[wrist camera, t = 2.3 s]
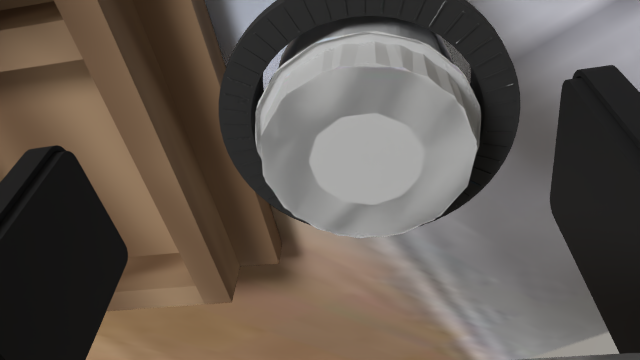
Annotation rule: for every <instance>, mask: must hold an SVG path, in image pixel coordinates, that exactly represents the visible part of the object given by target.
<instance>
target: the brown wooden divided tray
mask: <svg viewBox="0 0 640 360" xmlns="http://www.w3.org/2000/svg"><path fill="white" fill-rule="evenodd" d="M225 70H226V67H225V63H224V60H223V57H222V54H221V51H220V48H219V45H218V41H217V38H216V35H215V32H214V29H213V26H212V23H211V19H210V16H209V13H208V10H207V7H206V4H205V1H204V0H0V182H1V181H2V180H3V178H4V177H5V176H6V175H7V174H8V172H9V171H10V170H11V169H12V168H13V166H14V165H15V164H16V163H17V161H18V160H19V159H20V158H21V157H22V155H23V154H24V153H25V152H26V151H27V150H29V149H34V148H41V147H48V146H55V145H58V146H61V147H63V148H64V149H65V150H66V151H70V152H72V153H73V154H74V155H75V156H76V158H77V160H78V161H79V163H80V165H81V167H82V169H83V170H84V172H85V174H86V176H87V177H88V179H89V181H90V183H91V184H92V186H93V188H94V190H95V192H96V193H97V195H98V197H99V199H100V200H101V202H102V204H103V206H104V207H105V209H106V211H107V213H108V215H109V216H110V218H111V220H112V222H113V223H114V225H115V227H116V229H117V230H118V232H119V234H120V236H121V238H122V239H123V241H124V243H125V245H126V247H127V251H128V261H127V264H126V267H125V269H124V271H123V274H122V276H121V278H120V280H119V283H118V285H117V287H116V290H115V292H114V294H113V297H112V299H111V301H110V304H109V306H108V308H107V311H117V310H131V309H145V308H160V307H174V306H188V305H203V304H217V303H231V302H232V300H233V295H234V291H235V287H236V282H237V278H238V274H239V270H240V267H241V266H253V265H266V264H278V263H279V260H280V254H281V248H282V242H281V239H280V236H279V233H278V230H277V226H276V223H275V220H274V217H273V214H272V211H271V208H270V204H269V203H268V202H266V201H265V200H264V199H263V198H262V197H260V196H259V195H258V194H257V193H256V192H255V191H254V190H253V189H252V188H251V187H250V186H249V185H248V184H247V182H246V181H245V180H244V179H243V178H242V176H241V175H240V173H239V172H238V170H237V169H236V167H235V166H234V164H233V162H232V160H231V158H230V156H229V155H228V152H227V150H226V147H225V144H224V142H223V138H222V134H221V130H220V123H219V104H218V102H219V94H220V87H221V83H222V79H223V75H224V72H225Z"/></svg>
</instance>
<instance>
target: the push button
mask: <svg viewBox="0 0 640 360" xmlns="http://www.w3.org/2000/svg"><path fill="white" fill-rule="evenodd" d="M442 38H444V39H445V40H446V41H448V42H449V43H451V44H452V45H453V46H454V47H455V48H456V49H457V50H458V51H459V52H460V53H461V54H462V55H463V56H464V58H465V59H466V60H467V62H468V63H469V64H470V67H471V83H470V84H469V82H468V80H467V78H466V76H465V75H464V73H463V72H462V71H461V70H460V68H459V67H457V66H456V65H455V64H454V63H453V59H452V56H451V54H450V52H449V50H448V48H447V46H446V45H445V43H444V41H443V39H442ZM287 44H288V46H287V47H286V49H285V51H284V53H283V54H282V57H281V60H280V64H279V68H278V70H277V71H276V72H275V73H274V75H273V76H272V78H271V80H270V82H269V84H268V85H267V87H266V89H265V91H264V90H263V72H264V70H265V69H266V67H267V66H268V64H269V63H270V61H271V60H272V59H273V58H274V57H275V56H276V55H277V54H278V52H279V51H280V50H282V49H283V48H284V47H285V46H286V45H287ZM218 104H219V123H220V130H221V134H222V138H223V142H224V144H225V147H226V150H227V152H228V155H229V156H230V158H231V160H232V162H233V164H234V166H235V167H236V169H237V170H238V172H239V173H240V175H241V176H242V178H243V179H244V180H245V181H246V182H247V184H248V185H249V186H250V187H251V188H252V189H253V190H254V191H255V192H256V193H257V194H258V195H259V196H260V197H262V198H263V199H264V200H265V201H266V202H268V203H269V204H270V205H272V206H273V207H275V208H276V209H278V210H279V211H281V212H283V213H285V214H286V215H288V216H290V217H292V218H294V219H297V220H299V221H301V222H303V223H306V224H309V225H312V226H314V227H315V228H317V229H319V230H324V231H328V232H331V233H334V234H336V235H340V236H351V237H355V238H367V237H389V236H392V235H397V234H403V233H405V232H407V231H409V230H411V229H414V228H416V227H418V226H421V225H424V224H427V223H430V222H432V221H435V220H437V219H439V218H441V217H443V216H445V215H447V214H449V213H451V212H453V211H454V210H456V209H458V208H459V207H461V206H462V205H464V204H465V203H466V202H468V201H469V200H470V199H472V198H473V197H474V196H475V195H476V194H478V193H479V192H480V191H481V190H482V189H483V188H484V187H485V186H486V185H487V184H488V183H489V182H490V180H491V179H492V178H493V177H494V175H495V174H496V173H497V172H498V170H499V169H500V167H501V165H502V164H503V162H504V161H505V159H506V157H507V155H508V153H509V151H510V149H511V147H512V144H513V141H514V138H515V135H516V132H517V127H518V123H519V115H520V91H519V85H518V79H517V76H516V72H515V69H514V66H513V63H512V61H511V59H510V57H509V54H508V52H507V50H506V48H505V46H504V44H503V42H502V40H501V39H500V37H499V36H498V34H497V32H496V31H495V29H494V28H493V27H492V25H491V24H490V23H489V22H488V21H487V19H486V18H485V17H484V16H483V15H482V14H481V13H480V12H479V11H478V10H477V9H476V8H475V7H474V6H472V5H471V4H470V3H469V2H467V1H466V0H277V1H275V2H274V3H272V4H271V5H270V6H269V7H268V8H266V9H265V10H264V11H263V12H262V13H261V14H260V15H259V16H258V17H257V18H256V19H255V20H254V21H253V22H252V23H251V25H250V26H249V27H248V28H247V30H246V31H245V32H244V34H243V35H242V37H241V38H240V40H239V41H238V43H237V45H236V47H235V49H234V51H233V53H232V55H231V57H230V60H229V62H228V65H227V67H226V70H225V72H224V75H223V79H222V83H221V87H220V94H219V102H218Z"/></svg>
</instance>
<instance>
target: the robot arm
mask: <svg viewBox="0 0 640 360" xmlns="http://www.w3.org/2000/svg"><path fill="white" fill-rule="evenodd" d="M550 205H551V210H552V214H553V216H554V218H555V221H556V223H557V225H558V227H559V229H560V231H561V233H562V235H563V237H564V239H565V241H566V243H567V245H568V247H569V250H570V252H571V254H572V256H573V258H574V260H575V262H576V264H577V266H578V268H579V270H580V272H581V274H582V276H583V279H584V281H585V283H586V285H587V287H588V289H589V291H590V293H591V295H592V297H593V299H594V301H595V303H596V305H597V308H598V310H599V312H600V314H601V316H602V318H603V320H604V322H605V324H606V326H607V328H608V330H609V332H610V335H611V337H612V339H613V341H614V343H615V345H616V347H617V349H618V351H619V353H620V354H607V355H590V356H572V357H554V358H537V359H519V360H640V92H639V91H638V90H637V89H636V88H635V87H634V86H633V85H632V84H631V83H630V82H629V81H628V79H627V78H626V77H625V76H624V75H623V74H622V73H621V72H620V71H619V70H618V69H617V68H616V67H615V66H613V65H609V66H602V67H595V68H588V69H581V70H577V71H576V72H575V73H574V76H573V79H569V80H565V81H564V83H563V86H562V92H561V101H560V110H559V120H558V129H557V138H556V147H555V156H554V165H553V174H552V183H551V192H550ZM127 261H128V251H127V247H126V245H125V243H124V241H123V239H122V238H121V236H120V234H119V232H118V230H117V229H116V227H115V225H114V223H113V222H112V220H111V218H110V216H109V215H108V213H107V211H106V209H105V207H104V206H103V204H102V202H101V200H100V199H99V197H98V195H97V193H96V192H95V190H94V188H93V186H92V184H91V183H90V181H89V179H88V177H87V176H86V174H85V172H84V170H83V169H82V167H81V165H80V163H79V161H78V160H77V158H76V156H75V155H74V154H73V153H72V152H70V151H66V150H65V149H64V148H63V147H61V146H58V145H55V146H48V147H41V148H34V149H29V150H27V151H26V152H25V153H24V154H23V155H22V157H21V158H20V159H19V160H18V161H17V163H16V164H15V165H14V166H13V168H12V169H11V170H10V171H9V172H8V174H7V175H6V176H5V177H4V178H3V180H2V181H1V182H0V360H86V357H87V355H88V353H89V350H90V348H91V346H92V343H93V341H94V339H95V336H96V334H97V332H98V329H99V327H100V325H101V322H102V320H103V318H104V315H105V313H106V311H107V308H108V306H109V304H110V301H111V299H112V297H113V294H114V292H115V290H116V287H117V285H118V283H119V280H120V278H121V276H122V274H123V271H124V269H125V267H126V264H127Z"/></svg>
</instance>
